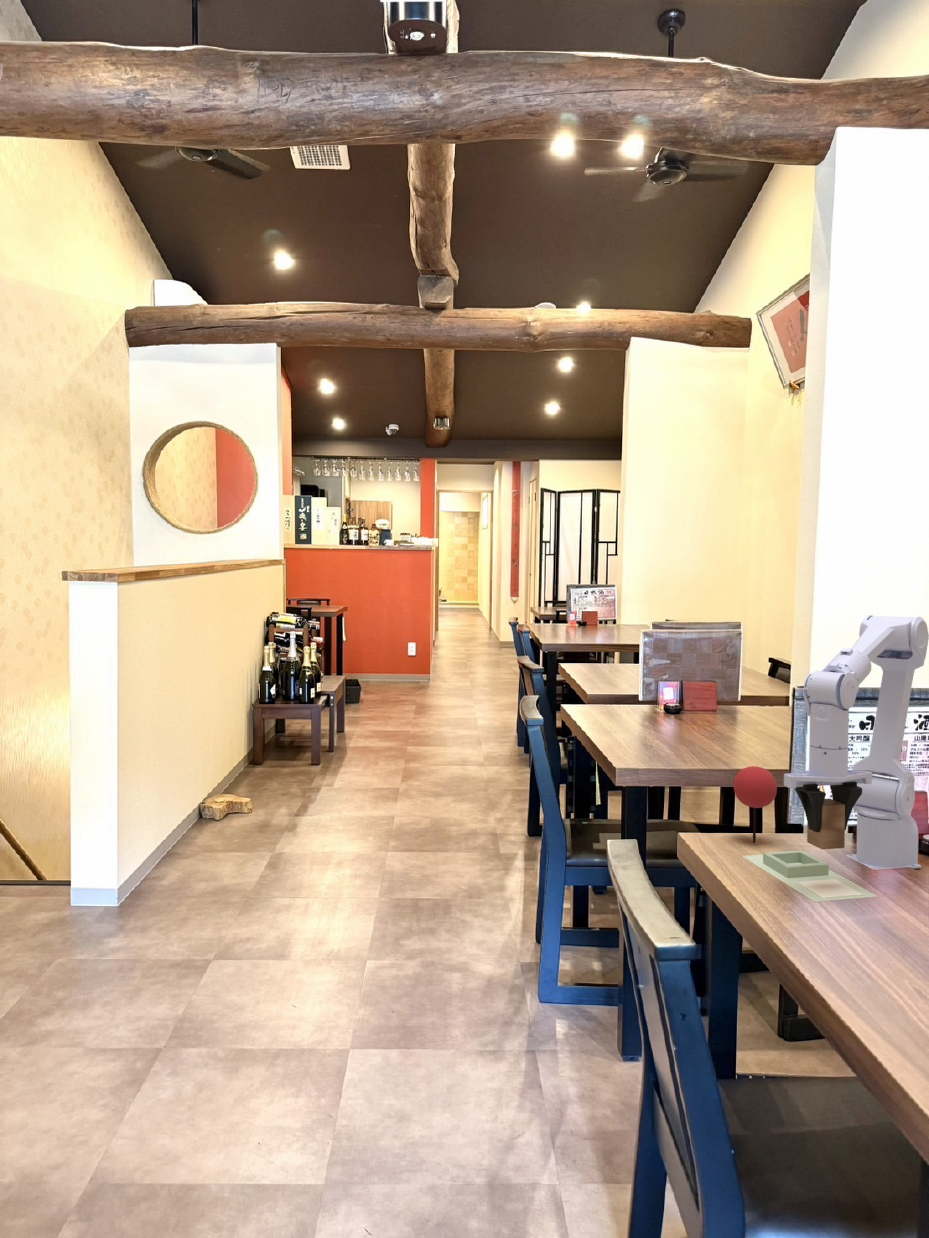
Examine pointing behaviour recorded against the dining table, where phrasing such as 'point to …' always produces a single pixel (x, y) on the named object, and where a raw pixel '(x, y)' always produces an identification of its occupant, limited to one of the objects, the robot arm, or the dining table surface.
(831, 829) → the walnut post
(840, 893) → the pocket board
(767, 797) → the lollipop
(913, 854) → the robot arm
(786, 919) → the dining table surface
